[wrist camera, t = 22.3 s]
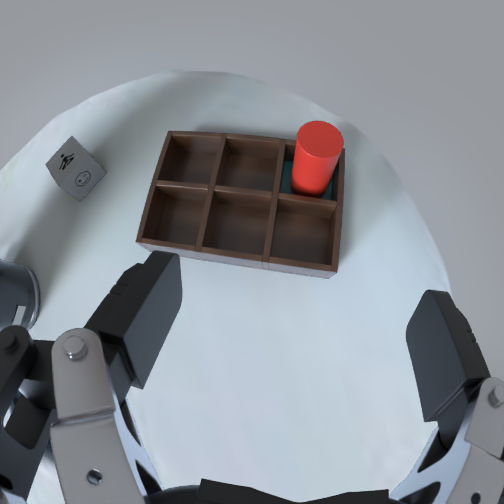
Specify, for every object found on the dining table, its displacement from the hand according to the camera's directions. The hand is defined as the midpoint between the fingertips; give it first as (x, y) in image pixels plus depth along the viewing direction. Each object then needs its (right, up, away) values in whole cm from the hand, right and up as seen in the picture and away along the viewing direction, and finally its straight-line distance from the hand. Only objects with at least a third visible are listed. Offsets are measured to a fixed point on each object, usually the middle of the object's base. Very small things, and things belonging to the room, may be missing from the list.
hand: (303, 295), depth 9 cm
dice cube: (-24, +11, +25) cm, 36 cm away
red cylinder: (+4, +8, +22) cm, 24 cm away
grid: (-2, +6, +22) cm, 23 cm away
